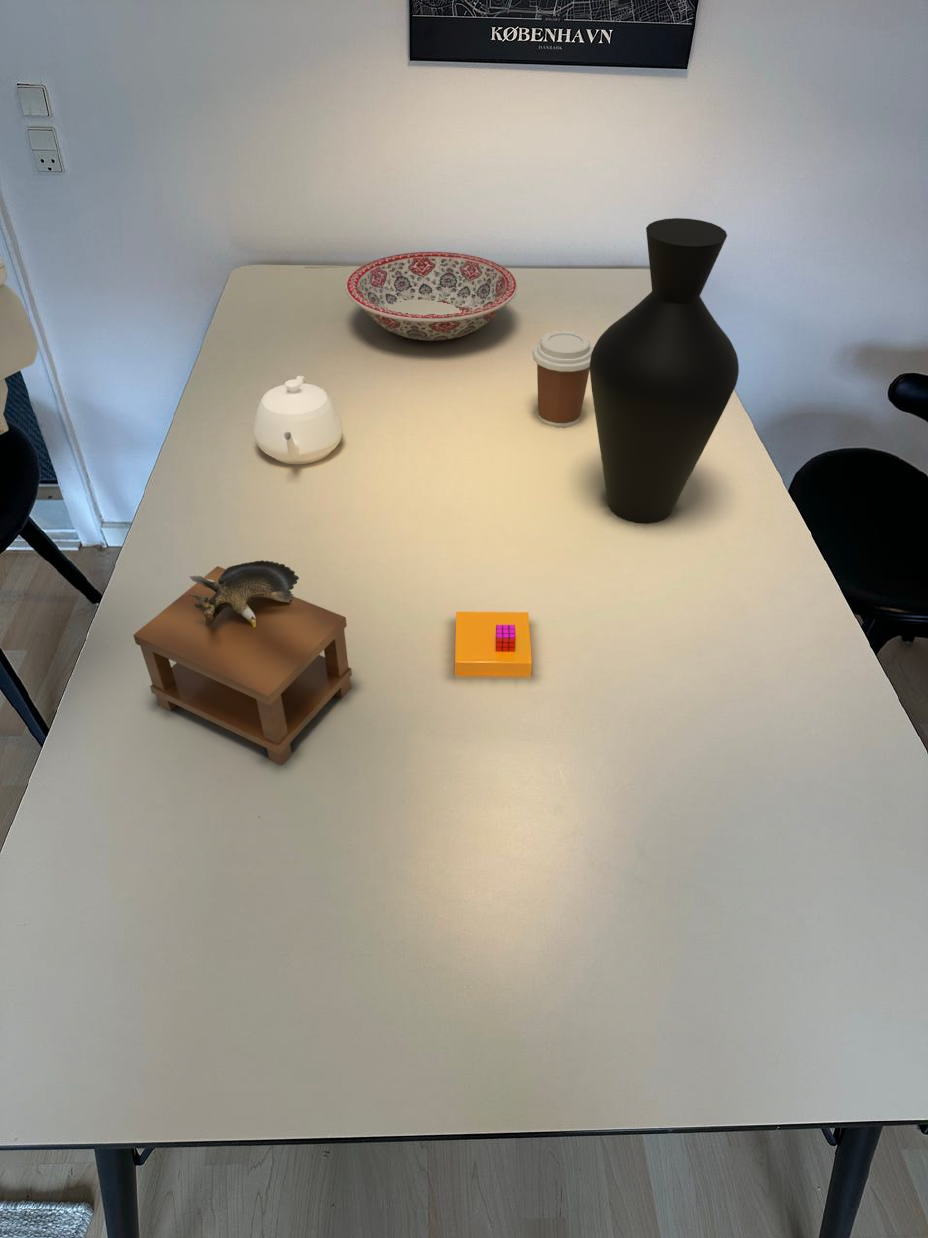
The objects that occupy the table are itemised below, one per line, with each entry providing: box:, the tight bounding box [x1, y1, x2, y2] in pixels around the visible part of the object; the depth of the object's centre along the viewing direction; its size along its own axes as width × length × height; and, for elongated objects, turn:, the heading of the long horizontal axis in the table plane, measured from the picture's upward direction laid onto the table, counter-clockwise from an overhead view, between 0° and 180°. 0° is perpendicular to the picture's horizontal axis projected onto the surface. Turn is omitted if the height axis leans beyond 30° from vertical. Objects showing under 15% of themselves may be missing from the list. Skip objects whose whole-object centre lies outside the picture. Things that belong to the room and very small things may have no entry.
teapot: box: [252, 375, 344, 465], centre depth 125 cm, size 20×12×10 cm, turn 3°
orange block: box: [454, 611, 533, 678], centre depth 97 cm, size 8×8×4 cm
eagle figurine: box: [188, 559, 300, 628], centre depth 85 cm, size 8×7×9 cm
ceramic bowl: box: [345, 251, 518, 341], centre depth 156 cm, size 29×29×8 cm
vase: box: [589, 217, 740, 525], centre depth 107 cm, size 17×17×35 cm
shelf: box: [132, 565, 353, 766], centre depth 89 cm, size 12×16×10 cm
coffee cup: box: [532, 330, 594, 428], centre depth 132 cm, size 9×9×12 cm
